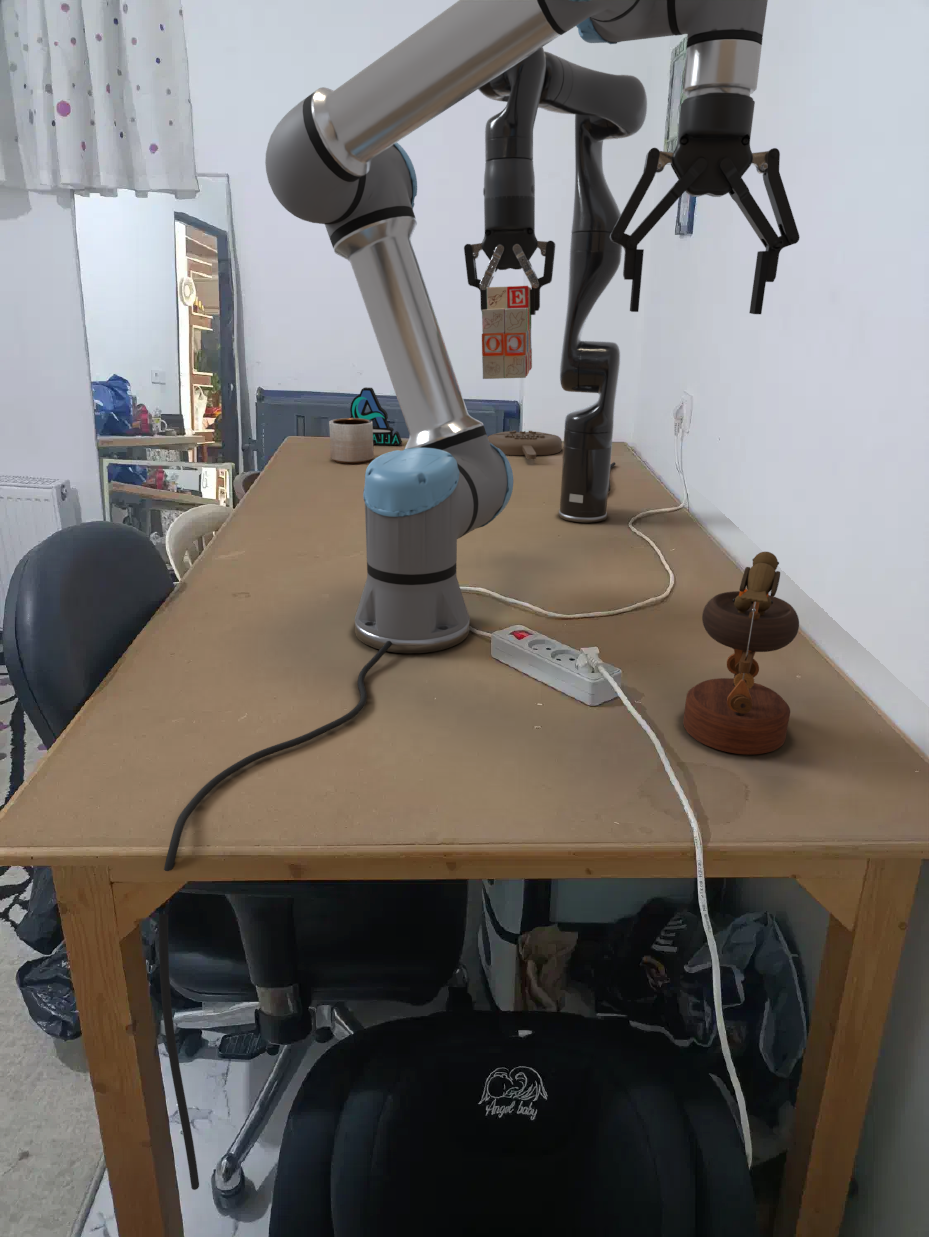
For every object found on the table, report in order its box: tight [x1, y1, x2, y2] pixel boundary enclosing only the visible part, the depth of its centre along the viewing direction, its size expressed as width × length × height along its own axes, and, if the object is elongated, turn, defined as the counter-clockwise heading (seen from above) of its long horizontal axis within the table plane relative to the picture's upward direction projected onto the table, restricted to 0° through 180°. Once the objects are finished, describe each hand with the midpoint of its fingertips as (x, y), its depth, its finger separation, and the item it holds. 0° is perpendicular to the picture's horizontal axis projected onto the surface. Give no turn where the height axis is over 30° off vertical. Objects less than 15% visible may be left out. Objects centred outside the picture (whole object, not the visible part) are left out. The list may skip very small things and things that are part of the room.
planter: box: [328, 417, 375, 464], centre depth 212 cm, size 11×11×10 cm
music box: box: [682, 551, 800, 755], centre depth 87 cm, size 15×11×20 cm
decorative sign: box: [349, 387, 403, 446], centre depth 231 cm, size 19×2×15 cm, turn 86°
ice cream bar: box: [487, 430, 563, 460], centre depth 224 cm, size 21×28×4 cm
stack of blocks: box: [481, 285, 533, 380], centre depth 125 cm, size 21×6×12 cm, turn 174°
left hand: (694, 313), depth 96 cm, fingers open, 13 cm apart
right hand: (510, 315), depth 131 cm, fingers closed on stack of blocks, 6 cm apart
